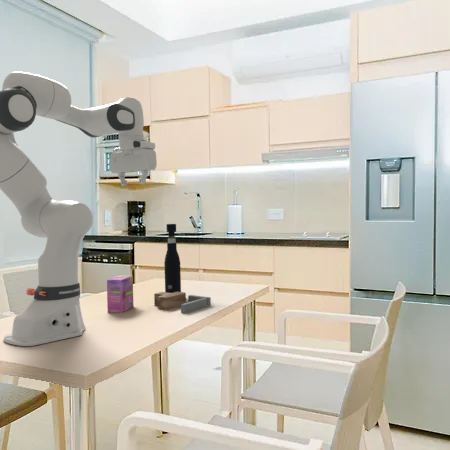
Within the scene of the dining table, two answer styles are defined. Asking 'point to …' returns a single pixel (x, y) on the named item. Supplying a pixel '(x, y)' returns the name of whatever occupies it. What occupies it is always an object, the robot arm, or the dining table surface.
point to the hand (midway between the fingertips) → (133, 184)
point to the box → (120, 293)
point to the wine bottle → (172, 263)
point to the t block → (169, 300)
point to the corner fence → (195, 303)
